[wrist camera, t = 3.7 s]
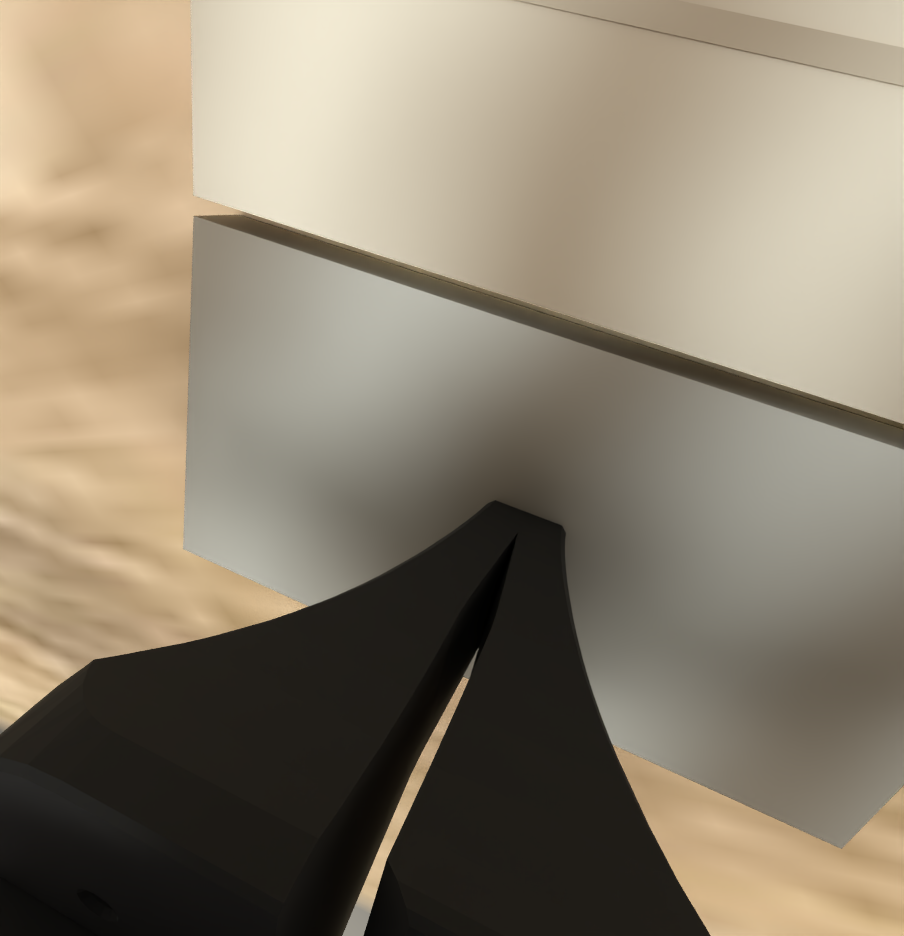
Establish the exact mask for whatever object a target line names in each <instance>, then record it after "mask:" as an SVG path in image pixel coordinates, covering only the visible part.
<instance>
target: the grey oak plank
mask: <svg viewBox="0 0 904 936" xmlns="http://www.w3.org/2000/svg"><path fill="white" fill-rule="evenodd" d="M495 500H496V501H499V502H501V503H504V504H507V505H509V506H512V507H515V508H517V509H520V510H523V511H525V512H528V513H530V514H533V515H536V516H538V517H541V518H544V519H546V520H549V521H552V522H554V523H557V524H559V525H562V526H563V528H564V530H565V532H566V537H565V563H566V574H567V583H568V590H569V596H570V602H571V608H572V614H573V619H574V624H575V628H576V633H577V637H578V641H579V645H580V649H581V653H582V657H583V661H584V665H585V668H586V672H587V675H588V678H589V682H590V685H591V688H592V691H593V694H594V697H595V700H596V703H597V706H598V708H599V711H600V714H601V717H602V720H603V722H604V725H605V727H606V730H607V733H608V735H609V738H610V740H611V743H612V745H615V746H617V747H619V748H621V749H623V750H626V751H628V752H630V753H632V754H634V755H637V756H639V757H641V758H643V759H645V760H648V761H650V762H652V763H654V764H656V765H659V766H661V767H663V768H665V769H667V770H670V771H672V772H674V773H676V774H678V775H681V776H683V777H685V778H687V779H689V780H692V781H694V782H696V783H698V784H700V785H703V786H705V787H707V788H709V789H711V790H714V791H716V792H718V793H720V794H722V795H725V796H727V797H729V798H731V799H733V800H735V801H738V802H740V803H742V804H744V805H746V806H749V807H751V808H753V809H755V810H757V811H760V812H762V813H764V814H766V815H768V816H771V817H773V818H775V819H777V820H779V821H782V822H784V823H786V824H788V825H790V826H793V827H795V828H797V829H799V830H801V831H804V832H806V833H808V834H810V835H812V836H815V837H817V838H819V839H821V840H823V841H826V842H828V843H830V844H832V845H834V846H837V847H839V848H841V849H842V848H843V847H844V846H845V845H846V844H847V843H848V842H849V841H850V840H851V839H852V838H853V837H854V836H855V834H856V833H857V832H858V831H859V830H860V829H861V828H862V827H863V826H864V825H865V824H866V823H867V822H868V821H869V820H870V819H871V818H872V817H873V816H874V815H875V814H876V813H877V812H878V811H879V810H880V809H881V808H882V807H883V806H884V805H885V804H886V803H887V802H888V801H889V800H890V799H891V798H892V797H893V796H894V795H895V794H896V792H897V791H898V790H899V789H900V788H901V787H902V786H903V785H904V430H903V429H900V428H897V427H894V426H891V425H887V424H884V423H881V422H878V421H875V420H872V419H869V418H866V417H863V416H860V415H857V414H853V413H850V412H847V411H844V410H841V409H838V408H835V407H832V406H829V405H826V404H823V403H819V402H816V401H813V400H810V399H807V398H804V397H801V396H798V395H795V394H792V393H789V392H785V391H782V390H779V389H776V388H773V387H770V386H767V385H764V384H761V383H758V382H755V381H751V380H748V379H745V378H742V377H739V376H736V375H733V374H730V373H727V372H724V371H721V370H717V369H714V368H711V367H708V366H705V365H702V364H699V363H696V362H693V361H690V360H687V359H683V358H680V357H677V356H674V355H671V354H668V353H665V352H662V351H659V350H656V349H653V348H649V347H646V346H643V345H640V344H637V343H634V342H631V341H628V340H625V339H622V338H619V337H615V336H612V335H609V334H606V333H603V332H600V331H597V330H594V329H591V328H588V327H584V326H581V325H578V324H575V323H572V322H569V321H566V320H563V319H560V318H557V317H554V316H550V315H547V314H544V313H541V312H538V311H535V310H532V309H529V308H526V307H523V306H520V305H516V304H513V303H510V302H507V301H504V300H501V299H498V298H495V297H492V296H489V295H486V294H482V293H479V292H476V291H473V290H470V289H467V288H464V287H461V286H458V285H455V284H452V283H448V282H445V281H442V280H439V279H436V278H433V277H430V276H427V275H424V274H421V273H418V272H414V271H411V270H408V269H405V268H402V267H399V266H396V265H393V264H390V263H387V262H384V261H380V260H377V259H374V258H371V257H368V256H365V255H362V254H359V253H356V252H353V251H350V250H346V249H343V248H340V247H337V246H334V245H331V244H328V243H325V242H322V241H319V240H316V239H312V238H309V237H306V236H303V235H300V234H297V233H294V232H291V231H288V230H285V229H281V228H278V227H275V226H272V225H269V224H266V223H263V222H260V221H257V220H254V219H251V218H247V217H244V216H241V215H213V216H194V224H193V256H192V288H191V320H190V351H189V383H188V415H187V447H186V479H185V511H184V542H183V549H184V550H186V551H189V552H191V553H193V554H195V555H197V556H200V557H202V558H204V559H206V560H208V561H211V562H213V563H215V564H217V565H219V566H222V567H224V568H226V569H228V570H230V571H233V572H235V573H237V574H239V575H241V576H244V577H246V578H248V579H250V580H252V581H254V582H257V583H259V584H261V585H263V586H265V587H268V588H270V589H272V590H274V591H276V592H279V593H281V594H283V595H285V596H287V597H290V598H292V599H294V600H296V601H298V602H301V603H303V604H305V605H307V606H311V605H314V604H316V603H319V602H322V601H324V600H327V599H329V598H332V597H334V596H337V595H339V594H341V593H343V592H346V591H348V590H350V589H352V588H355V587H357V586H359V585H361V584H363V583H365V582H367V581H369V580H371V579H373V578H375V577H377V576H379V575H381V574H383V573H385V572H387V571H389V570H390V569H392V568H394V567H396V566H397V565H399V564H401V563H403V562H404V561H406V560H408V559H410V558H411V557H413V556H415V555H417V554H418V553H420V552H422V551H423V550H425V549H426V548H428V547H429V546H431V545H432V544H434V543H435V542H437V541H438V540H440V539H441V538H443V537H444V536H446V535H447V534H449V533H450V532H452V531H453V530H455V529H456V528H457V527H459V526H460V525H462V524H463V523H464V522H466V521H467V520H468V519H469V518H471V517H472V516H473V515H475V514H476V513H477V512H478V511H479V510H481V509H482V508H483V507H484V506H485V505H486V504H487V503H489V502H492V501H495ZM477 652H478V649H477V651H476V653H475V655H474V657H473V659H472V661H471V662H470V664H469V666H468V668H467V670H466V672H465V674H464V675H463V677H465V678H468V679H470V675H471V672H472V669H473V665H474V662H475V658H476V655H477Z"/></svg>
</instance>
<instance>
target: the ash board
mask: <svg viewBox="0 0 904 936" xmlns="http://www.w3.org/2000/svg"><path fill="white" fill-rule="evenodd" d="M191 65H192V135H193V196H197V197H200V198H203V199H206V200H209V201H212V202H215V203H218V204H221V205H224V206H228V207H231V208H234V209H237V210H240V211H243V212H246V213H249V214H252V215H256V216H259V217H262V218H265V219H268V220H271V221H274V222H277V223H280V224H284V225H287V226H290V227H293V228H296V229H299V230H302V231H305V232H308V233H312V234H315V235H318V236H321V237H324V238H327V239H330V240H333V241H336V242H339V243H343V244H346V245H349V246H352V247H355V248H358V249H361V250H364V251H367V252H371V253H374V254H377V255H380V256H383V257H386V258H389V259H392V260H395V261H399V262H402V263H405V264H408V265H411V266H414V267H417V268H420V269H423V270H427V271H430V272H433V273H436V274H439V275H442V276H445V277H448V278H451V279H454V280H458V281H461V282H464V283H467V284H470V285H473V286H476V287H479V288H482V289H486V290H489V291H492V292H495V293H498V294H501V295H504V296H507V297H510V298H514V299H517V300H520V301H523V302H526V303H529V304H532V305H535V306H538V307H542V308H545V309H548V310H551V311H554V312H557V313H560V314H563V315H566V316H569V317H573V318H576V319H579V320H582V321H585V322H588V323H591V324H594V325H597V326H601V327H604V328H607V329H610V330H613V331H616V332H619V333H622V334H625V335H629V336H632V337H635V338H638V339H641V340H644V341H647V342H650V343H653V344H656V345H660V346H663V347H666V348H669V349H672V350H675V351H678V352H681V353H684V354H688V355H691V356H694V357H697V358H700V359H703V360H706V361H709V362H712V363H716V364H719V365H722V366H725V367H728V368H731V369H734V370H737V371H740V372H744V373H747V374H750V375H753V376H756V377H759V378H762V379H765V380H768V381H771V382H775V383H778V384H781V385H784V386H787V387H790V388H793V389H796V390H799V391H803V392H806V393H809V394H812V395H815V396H818V397H821V398H824V399H827V400H831V401H834V402H837V403H840V404H843V405H846V406H849V407H852V408H855V409H859V410H862V411H865V412H868V413H871V414H874V415H877V416H880V417H883V418H886V419H890V420H893V421H896V422H899V423H902V424H904V0H191Z"/></svg>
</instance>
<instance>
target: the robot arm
mask: <svg viewBox="0 0 904 936" xmlns="http://www.w3.org/2000/svg"><path fill="white" fill-rule="evenodd" d="M565 537H566V532H565V530H564V528H563V526H562V525H559V524H557V523H554V522H552V521H549V520H546V519H544V518H541V517H538V516H536V515H533V514H530V513H528V512H525V511H523V510H520V509H517V508H515V507H512V506H509V505H507V504H504V503H501V502H499V501H496V500H495V501H492V502H489V503H487V504H486V505H485V506H484V507H483V508H482V509H481V510H479V511H478V512H477V513H476V514H475V515H473V516H472V517H471V518H469V519H468V520H467V521H466V522H464V523H463V524H462V525H460V526H459V527H457V528H456V529H455V530H453V531H452V532H450V533H449V534H447V535H446V536H444V537H443V538H441V539H440V540H438V541H437V542H435V543H434V544H432V545H431V546H429V547H428V548H426V549H425V550H423V551H422V552H420V553H418V554H417V555H415V556H413V557H411V558H410V559H408V560H406V561H404V562H403V563H401V564H399V565H397V566H396V567H394V568H392V569H390V570H389V571H387V572H385V573H383V574H381V575H379V576H377V577H375V578H373V579H371V580H369V581H367V582H365V583H363V584H361V585H359V586H357V587H355V588H352V589H350V590H348V591H346V592H343V593H341V594H339V595H337V596H334V597H332V598H329V599H327V600H324V601H322V602H319V603H316V604H314V605H311V606H309V607H306V608H303V609H301V610H298V611H295V612H293V613H290V614H287V615H284V616H281V617H278V618H275V619H272V620H269V621H266V622H262V623H259V624H255V625H252V626H248V627H245V628H241V629H237V630H234V631H230V632H227V633H223V634H220V635H216V636H212V637H208V638H204V639H200V640H195V641H191V642H187V643H182V644H177V645H172V646H166V647H161V648H156V649H151V650H145V651H140V652H135V653H130V654H124V655H119V656H114V657H107V658H101V659H95V660H93V661H92V662H90V663H89V664H88V665H86V666H85V667H84V668H82V669H81V670H80V671H78V672H77V673H75V674H74V675H73V676H71V677H70V678H68V679H67V680H66V681H64V682H63V683H61V684H60V685H59V686H57V687H56V688H55V689H54V690H52V691H51V692H50V693H49V694H48V695H46V696H45V697H44V698H43V699H42V700H40V701H39V702H38V703H37V704H36V705H34V706H33V707H32V708H31V709H30V710H28V711H27V712H26V713H25V714H24V715H23V716H21V717H20V718H19V719H18V720H17V721H16V722H14V723H13V724H12V725H11V726H10V727H8V728H7V729H6V730H5V731H4V732H3V733H1V734H0V936H342V935H343V932H344V930H345V928H346V925H347V923H348V920H349V918H350V916H351V913H352V911H353V908H354V906H355V904H356V901H357V899H358V897H359V894H360V892H361V890H362V887H363V885H364V883H365V880H366V878H367V876H368V873H369V871H370V869H371V866H372V864H373V861H374V859H375V857H376V854H377V852H378V850H379V847H380V845H381V843H382V840H383V838H384V836H385V833H386V831H387V829H388V826H389V824H390V822H391V819H392V817H393V815H394V812H395V810H396V808H397V805H398V803H399V801H400V798H401V796H402V794H403V791H404V789H405V787H406V784H407V782H408V780H409V778H410V775H411V773H412V771H413V769H414V767H415V765H416V763H417V761H418V759H419V757H420V755H421V753H422V751H423V749H424V747H425V745H426V743H427V742H428V740H429V738H430V736H431V734H432V732H433V731H434V729H435V727H436V725H437V723H438V721H439V720H440V718H441V716H442V714H443V712H444V710H445V709H446V707H447V705H448V703H449V701H450V699H451V698H452V696H453V694H454V692H455V690H456V688H457V687H458V685H459V683H460V681H461V679H462V677H463V675H464V674H465V672H466V670H467V668H468V666H469V664H470V662H471V661H472V659H473V657H474V655H475V653H476V651H477V649H478V652H477V655H476V658H475V662H474V665H473V669H472V672H471V675H470V679H469V681H468V683H467V686H466V688H465V690H464V692H463V695H462V697H461V699H460V701H459V704H458V706H457V708H456V710H455V713H454V715H453V717H452V719H451V722H450V724H449V726H448V728H447V730H446V733H445V735H444V737H443V739H442V741H441V744H440V746H439V748H438V750H437V753H436V755H435V757H434V759H433V761H432V764H431V766H430V768H429V770H428V772H427V774H426V777H425V779H424V781H423V783H422V785H421V787H420V790H419V792H418V794H417V796H416V798H415V800H414V802H413V805H412V807H411V809H410V811H409V813H408V815H407V818H406V820H405V822H404V824H403V826H402V828H401V831H400V833H399V835H398V837H397V839H396V841H395V843H394V845H393V847H392V850H391V852H390V854H389V856H388V858H387V861H386V864H385V867H384V871H383V874H382V877H381V881H380V884H379V887H378V890H377V894H376V897H375V900H374V903H373V907H372V910H371V913H370V916H369V920H368V923H367V926H366V930H365V933H364V936H710V934H709V932H708V931H707V929H706V927H705V926H704V924H703V922H702V921H701V919H700V917H699V916H698V914H697V912H696V911H695V909H694V907H693V906H692V904H691V902H690V901H689V899H688V897H687V896H686V894H685V892H684V891H683V889H682V887H681V885H680V884H679V882H678V880H677V878H676V876H675V875H674V873H673V871H672V869H671V867H670V865H669V863H668V861H667V859H666V857H665V856H664V854H663V852H662V850H661V848H660V846H659V844H658V842H657V840H656V838H655V836H654V835H653V833H652V831H651V829H650V827H649V825H648V823H647V821H646V818H645V816H644V814H643V812H642V810H641V808H640V805H639V803H638V801H637V799H636V797H635V795H634V792H633V790H632V788H631V786H630V784H629V782H628V779H627V777H626V775H625V773H624V771H623V769H622V766H621V764H620V762H619V760H618V758H617V755H616V753H615V751H614V748H613V745H612V743H611V740H610V738H609V735H608V733H607V730H606V727H605V725H604V722H603V720H602V717H601V714H600V711H599V708H598V706H597V703H596V700H595V697H594V694H593V691H592V688H591V685H590V682H589V678H588V675H587V672H586V668H585V665H584V661H583V657H582V653H581V649H580V645H579V641H578V637H577V633H576V628H575V624H574V619H573V614H572V608H571V602H570V596H569V590H568V583H567V574H566V563H565Z"/></svg>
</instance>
